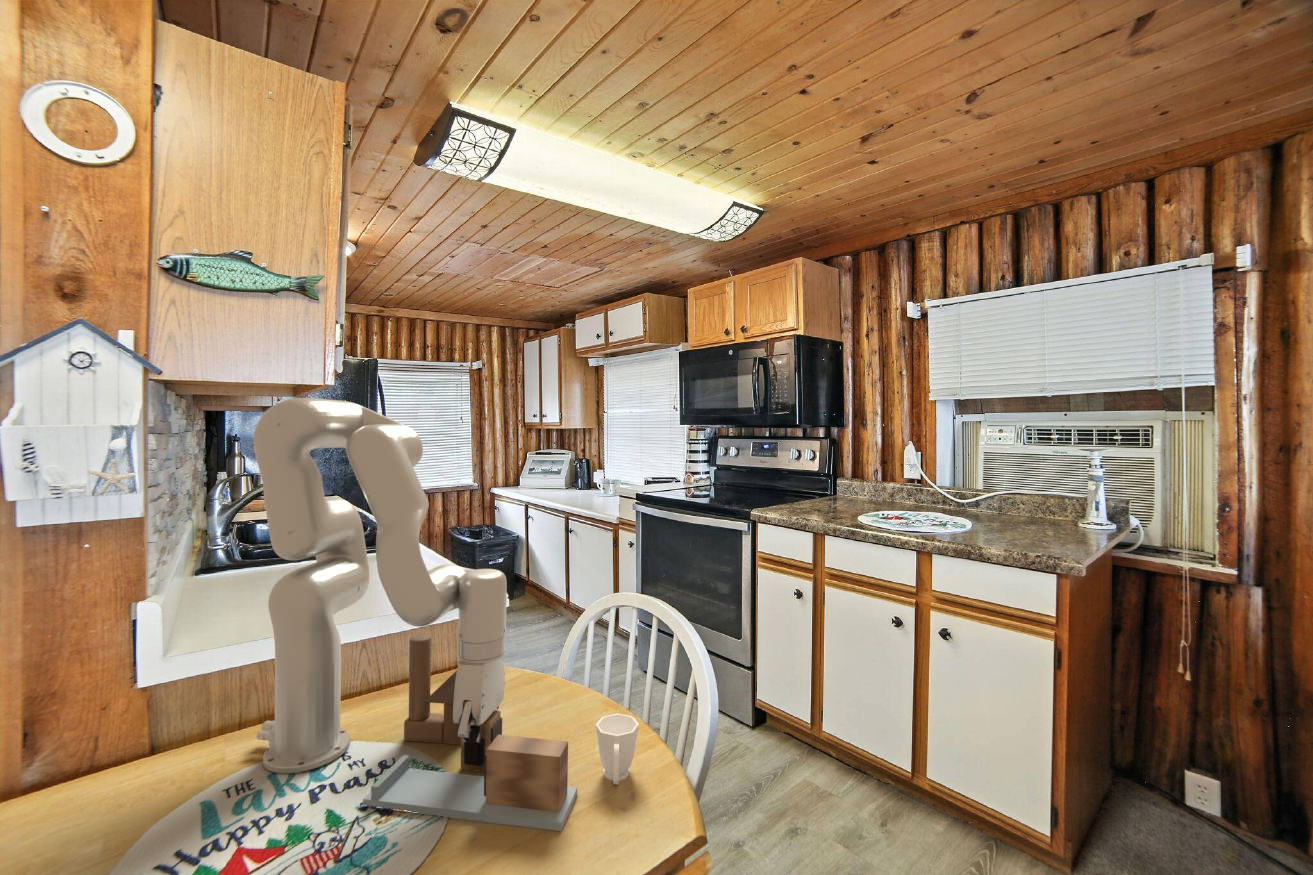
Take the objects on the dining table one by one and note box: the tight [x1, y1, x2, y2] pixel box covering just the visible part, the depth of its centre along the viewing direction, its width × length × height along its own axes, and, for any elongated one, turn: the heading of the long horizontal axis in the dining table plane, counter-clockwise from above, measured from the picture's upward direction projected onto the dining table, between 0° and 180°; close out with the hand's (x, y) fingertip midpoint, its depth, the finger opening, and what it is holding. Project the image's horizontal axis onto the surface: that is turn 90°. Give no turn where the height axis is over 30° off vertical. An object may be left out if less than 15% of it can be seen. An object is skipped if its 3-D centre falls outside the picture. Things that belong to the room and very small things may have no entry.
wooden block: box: [403, 633, 461, 746], centre depth 101 cm, size 4×11×18 cm, turn 85°
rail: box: [362, 754, 578, 832], centre depth 85 cm, size 30×8×3 cm, turn 82°
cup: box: [595, 713, 640, 785], centre depth 91 cm, size 7×10×8 cm
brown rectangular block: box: [460, 710, 503, 773], centre depth 94 cm, size 5×4×8 cm
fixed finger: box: [483, 734, 569, 812], centre depth 84 cm, size 11×4×8 cm, turn 82°
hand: (480, 754), depth 94 cm, fingers closed on brown rectangular block, 4 cm apart
